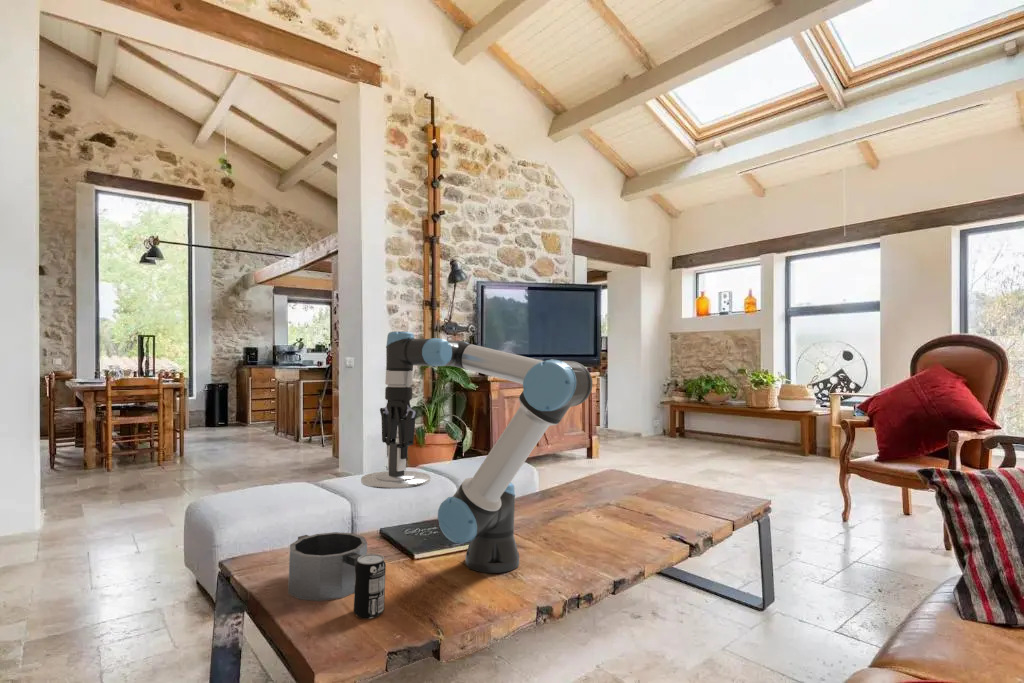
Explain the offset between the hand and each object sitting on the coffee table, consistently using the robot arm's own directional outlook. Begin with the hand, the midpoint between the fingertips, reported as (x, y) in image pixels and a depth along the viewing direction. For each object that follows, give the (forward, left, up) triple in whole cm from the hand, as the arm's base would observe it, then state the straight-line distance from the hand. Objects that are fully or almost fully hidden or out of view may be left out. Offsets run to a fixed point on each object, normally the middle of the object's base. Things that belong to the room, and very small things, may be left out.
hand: (396, 469), depth 152 cm
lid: (0, 0, -3) cm, 3 cm away
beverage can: (-20, +24, -26) cm, 40 cm away
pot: (0, +21, -26) cm, 33 cm away
